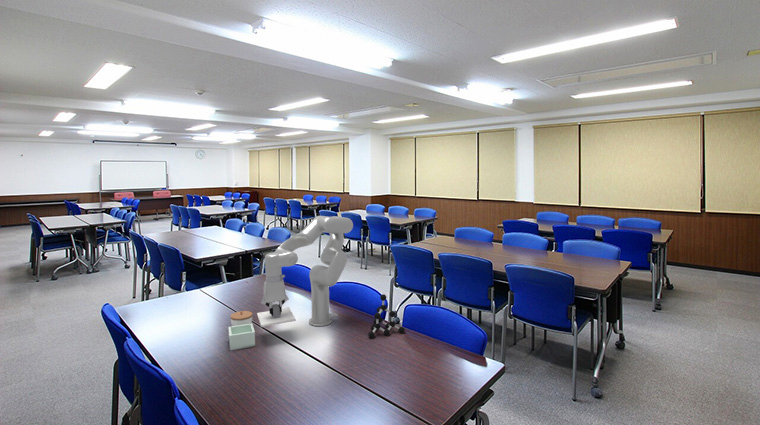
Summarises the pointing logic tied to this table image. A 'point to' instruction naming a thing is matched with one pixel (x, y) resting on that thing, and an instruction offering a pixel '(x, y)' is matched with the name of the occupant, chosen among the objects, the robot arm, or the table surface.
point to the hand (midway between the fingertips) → (275, 313)
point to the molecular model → (379, 319)
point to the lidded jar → (241, 318)
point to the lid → (275, 316)
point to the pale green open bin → (241, 336)
